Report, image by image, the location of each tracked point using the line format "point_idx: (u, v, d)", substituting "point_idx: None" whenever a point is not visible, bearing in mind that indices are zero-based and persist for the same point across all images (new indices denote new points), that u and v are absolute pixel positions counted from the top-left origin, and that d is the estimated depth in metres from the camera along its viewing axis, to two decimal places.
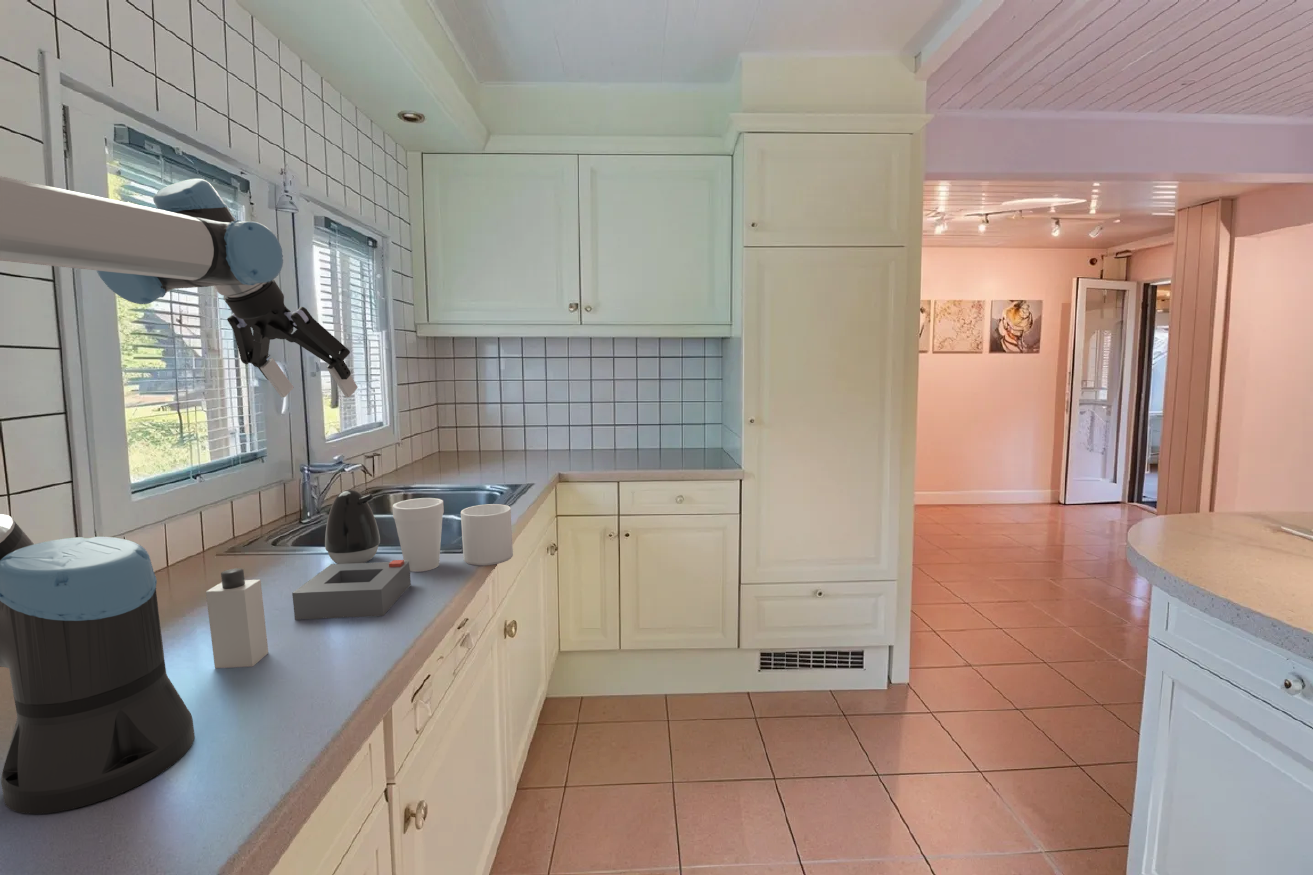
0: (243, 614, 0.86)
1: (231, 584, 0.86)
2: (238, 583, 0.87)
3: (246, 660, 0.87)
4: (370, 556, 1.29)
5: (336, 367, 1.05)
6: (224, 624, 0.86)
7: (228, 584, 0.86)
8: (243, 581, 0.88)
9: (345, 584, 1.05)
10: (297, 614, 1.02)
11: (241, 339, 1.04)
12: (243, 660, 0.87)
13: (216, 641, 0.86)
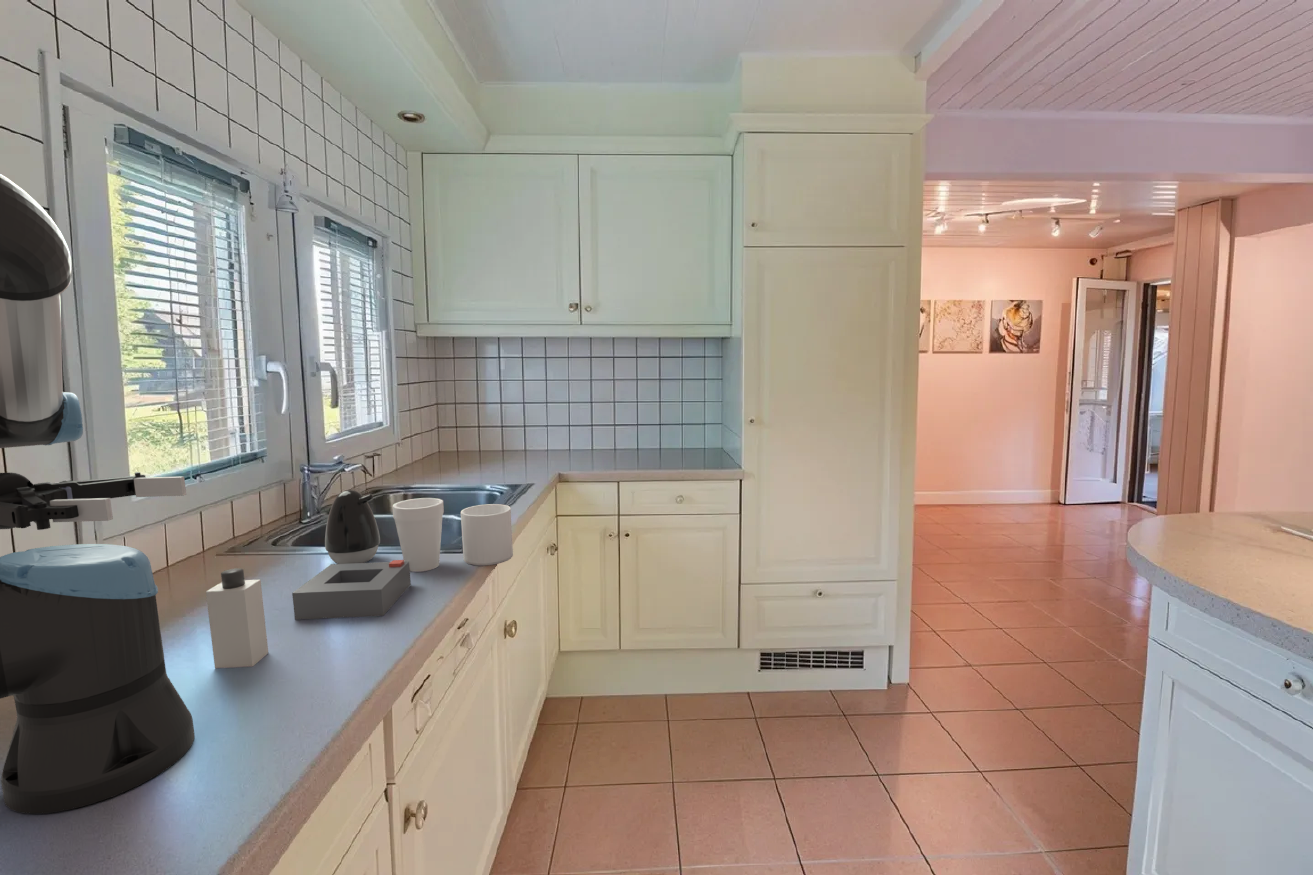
0: (243, 614, 0.86)
1: (231, 584, 0.86)
2: (238, 583, 0.87)
3: (246, 660, 0.87)
4: (370, 556, 1.29)
5: None
6: (224, 624, 0.86)
7: (228, 584, 0.86)
8: (243, 581, 0.88)
9: (345, 584, 1.05)
10: (297, 614, 1.02)
11: (2, 502, 0.78)
12: (243, 660, 0.87)
13: (216, 641, 0.86)
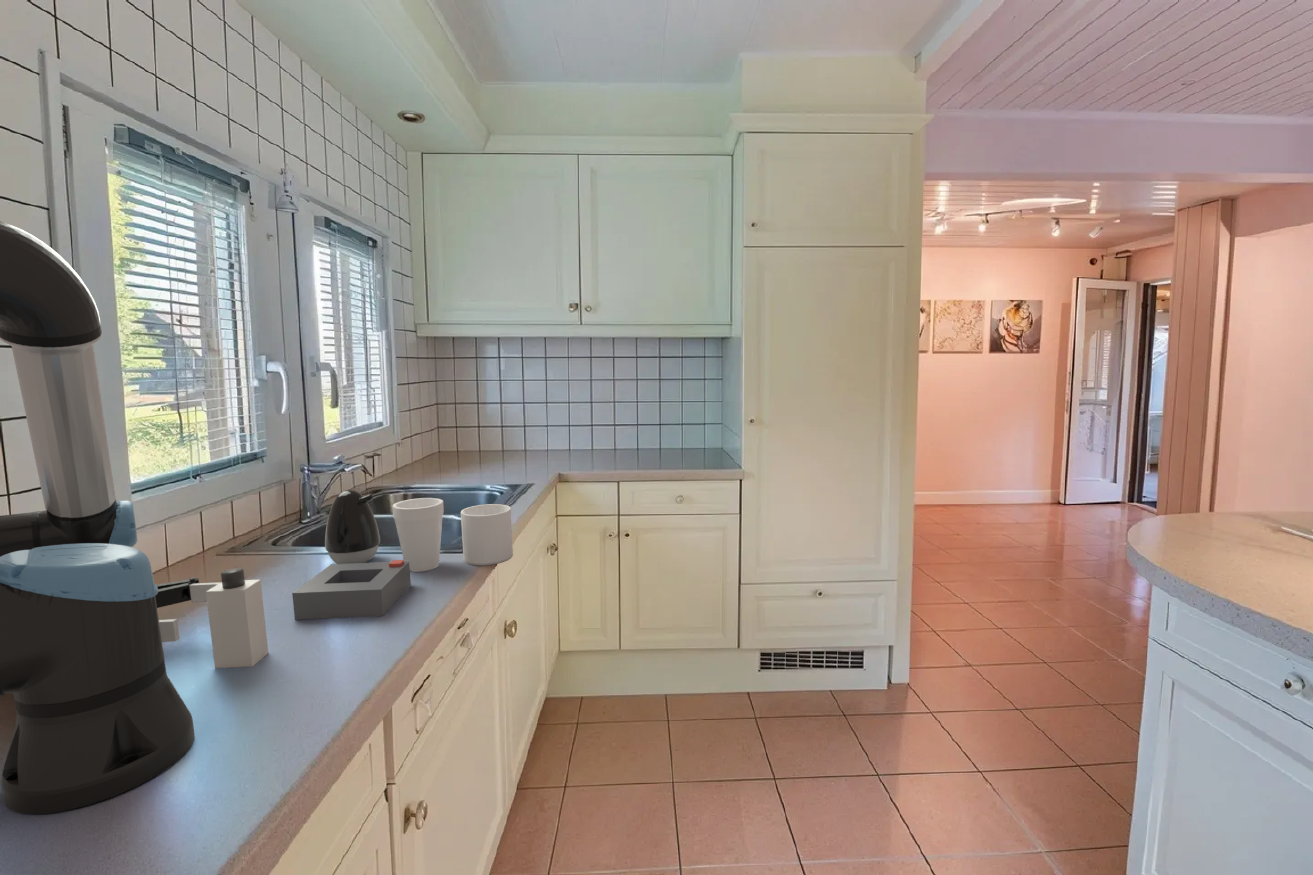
0: (243, 614, 0.86)
1: (231, 584, 0.86)
2: (238, 583, 0.87)
3: (246, 660, 0.87)
4: (370, 556, 1.29)
5: None
6: (224, 624, 0.86)
7: (228, 584, 0.86)
8: (243, 581, 0.88)
9: (345, 584, 1.05)
10: (297, 614, 1.02)
11: None
12: (243, 660, 0.87)
13: (216, 641, 0.86)
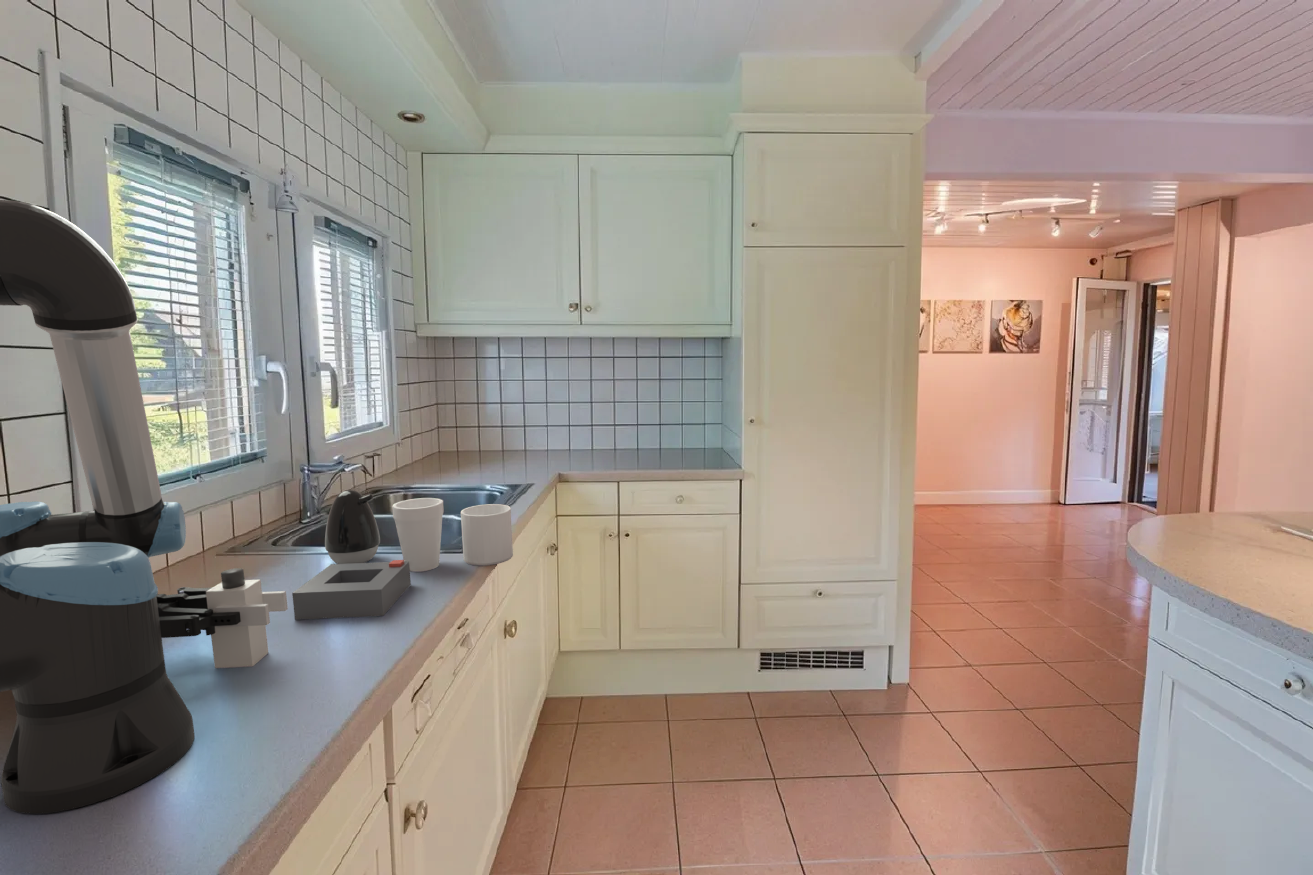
0: None
1: (231, 584, 0.86)
2: (238, 583, 0.87)
3: (246, 660, 0.87)
4: (370, 556, 1.29)
5: None
6: None
7: (228, 584, 0.86)
8: (243, 581, 0.88)
9: (345, 584, 1.05)
10: (297, 614, 1.02)
11: None
12: (243, 660, 0.87)
13: (216, 641, 0.86)
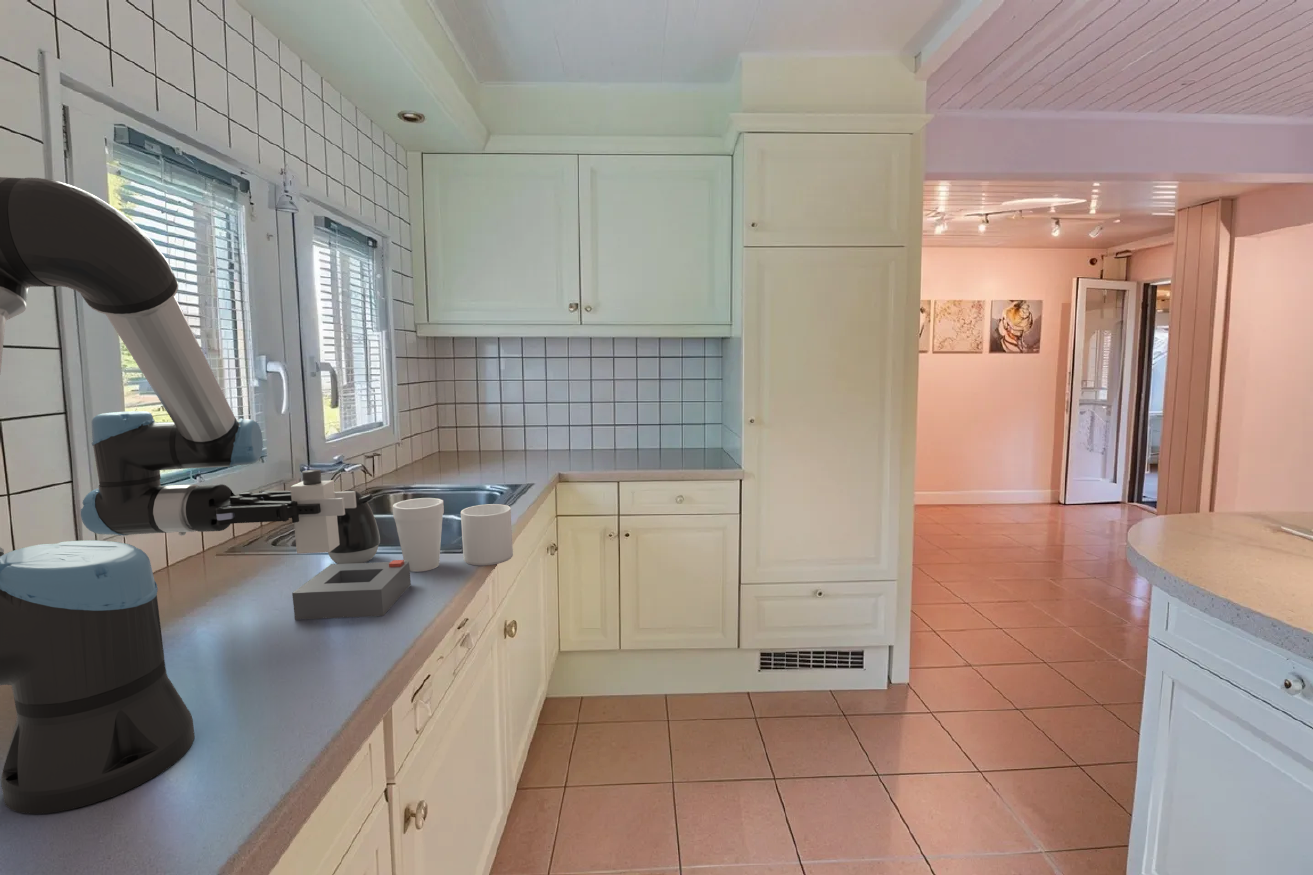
0: None
1: (311, 481, 1.01)
2: (317, 481, 1.02)
3: (324, 546, 1.02)
4: (370, 556, 1.29)
5: None
6: None
7: (309, 481, 1.01)
8: (320, 480, 1.02)
9: (345, 584, 1.05)
10: (297, 614, 1.02)
11: (248, 505, 0.97)
12: (321, 547, 1.02)
13: (298, 530, 1.01)
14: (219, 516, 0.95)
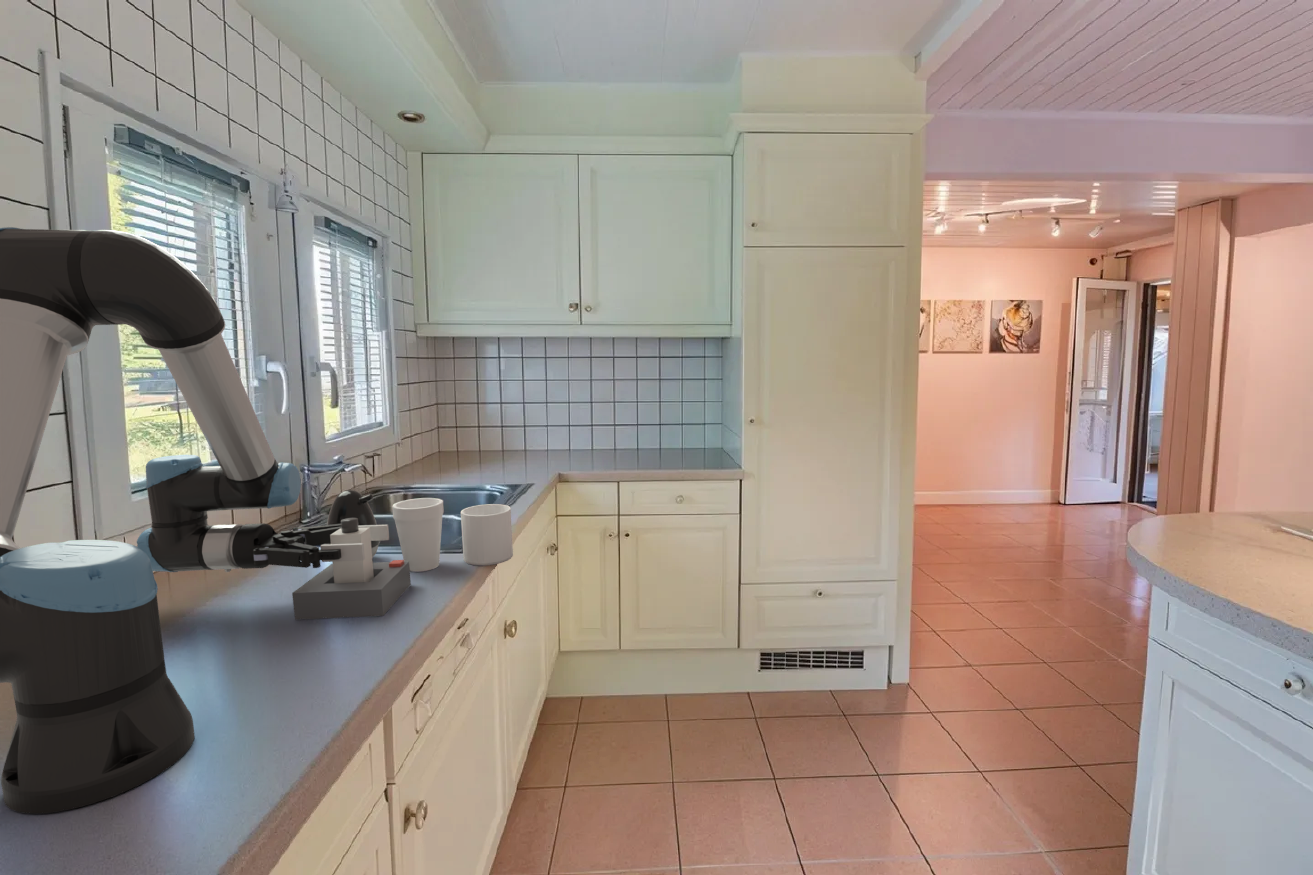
0: None
1: (349, 529, 1.07)
2: (354, 529, 1.08)
3: None
4: None
5: None
6: (344, 561, 1.07)
7: (347, 529, 1.07)
8: (357, 528, 1.08)
9: (345, 584, 1.05)
10: (297, 614, 1.02)
11: (280, 548, 1.02)
12: None
13: (337, 575, 1.07)
14: (255, 557, 1.01)
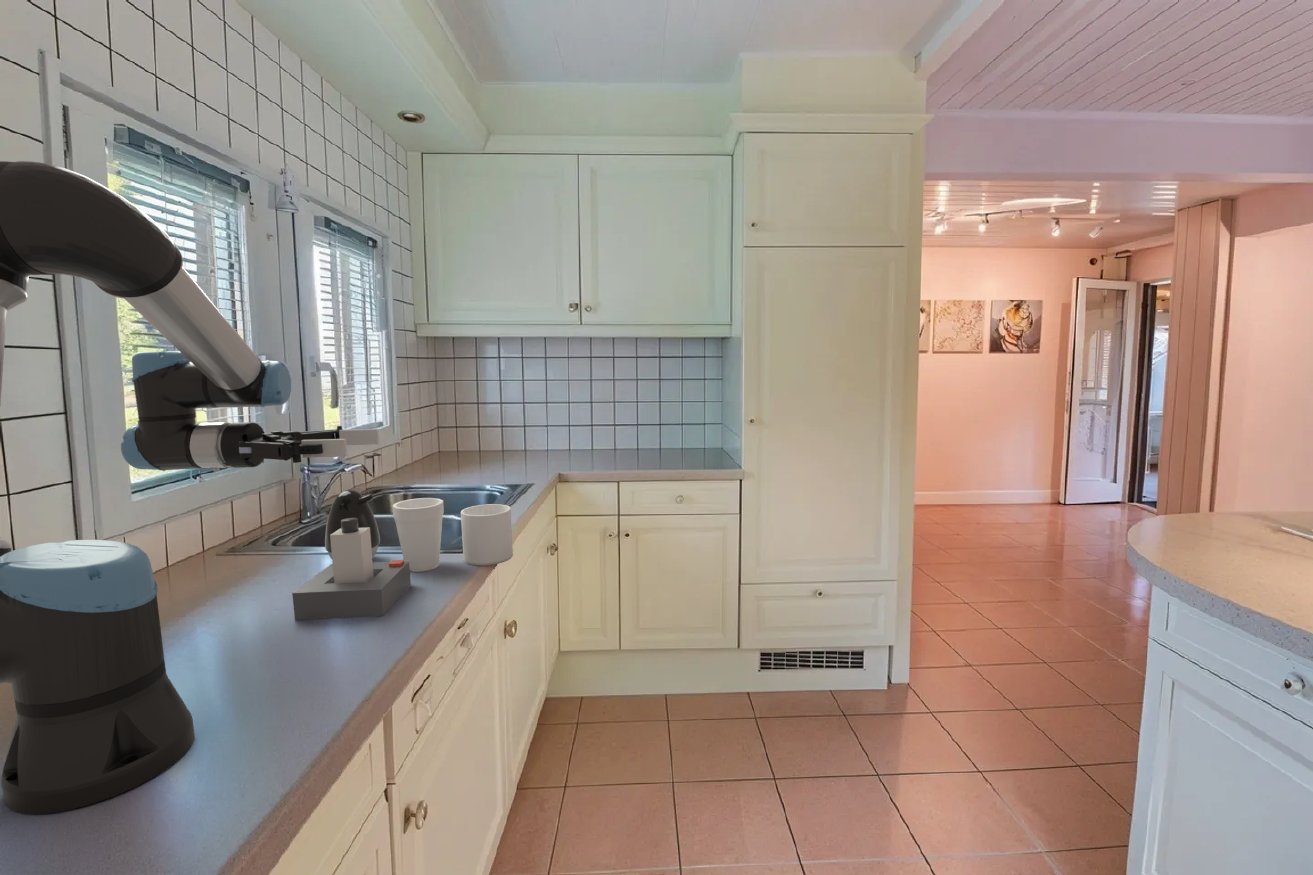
0: (359, 554, 1.07)
1: (349, 529, 1.07)
2: (354, 529, 1.08)
3: None
4: None
5: None
6: (344, 561, 1.07)
7: (347, 529, 1.07)
8: (357, 528, 1.08)
9: (345, 584, 1.05)
10: (297, 614, 1.02)
11: (264, 442, 0.99)
12: None
13: (337, 575, 1.07)
14: (240, 449, 0.99)
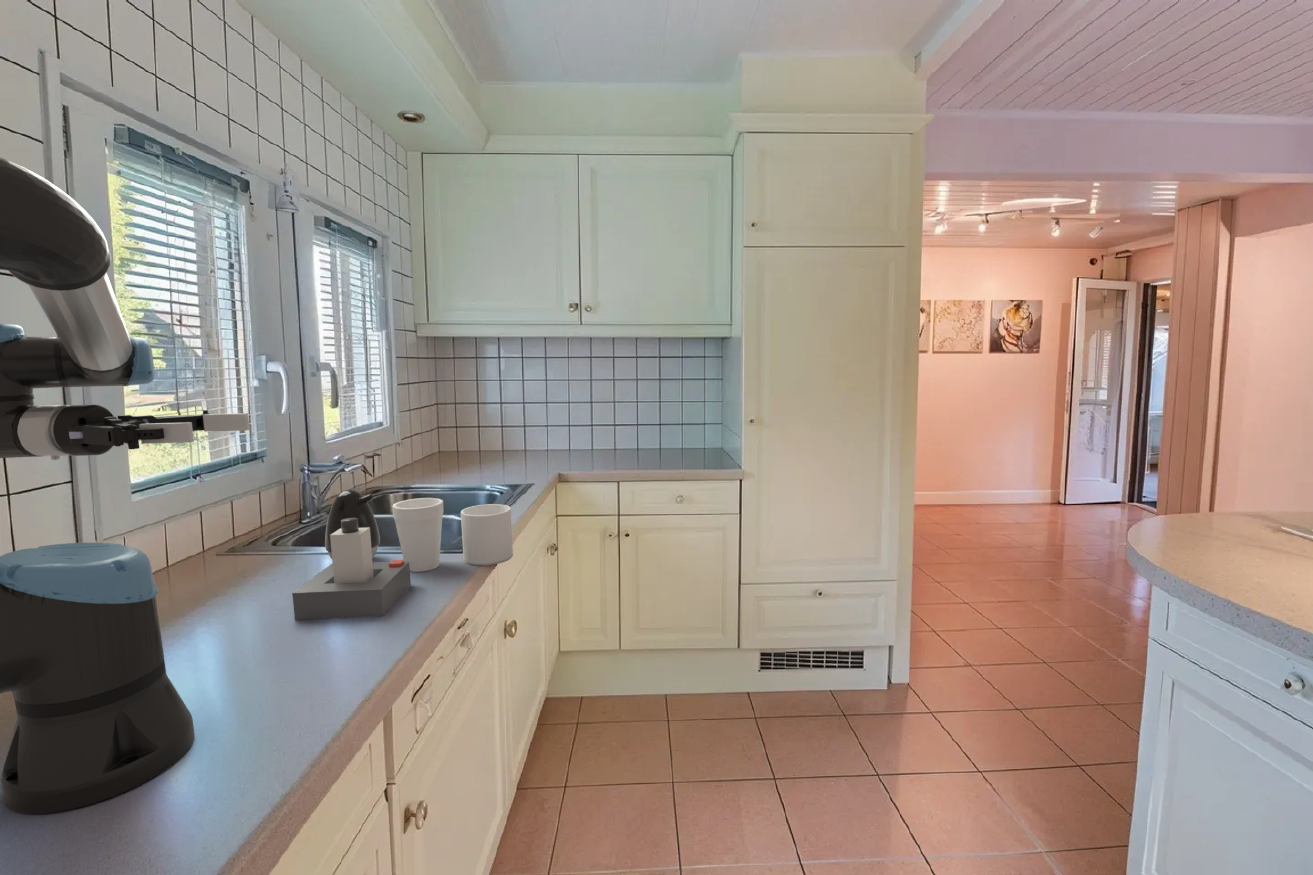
0: (359, 554, 1.07)
1: (349, 529, 1.07)
2: (354, 529, 1.08)
3: None
4: None
5: None
6: (344, 561, 1.07)
7: (347, 529, 1.07)
8: (357, 528, 1.08)
9: (345, 584, 1.05)
10: (297, 614, 1.02)
11: None
12: None
13: (337, 575, 1.07)
14: (70, 434, 0.87)
